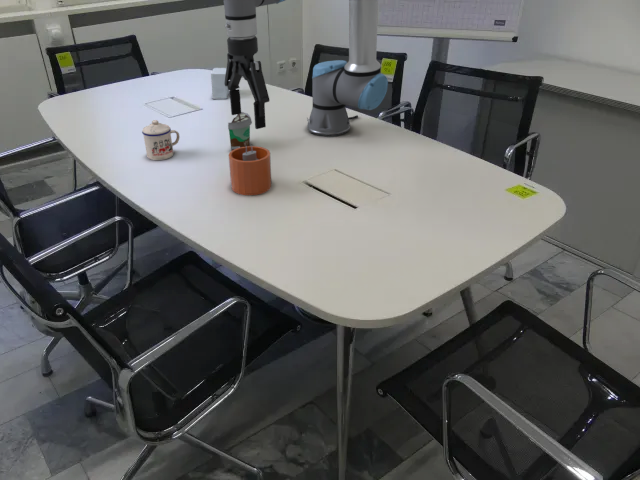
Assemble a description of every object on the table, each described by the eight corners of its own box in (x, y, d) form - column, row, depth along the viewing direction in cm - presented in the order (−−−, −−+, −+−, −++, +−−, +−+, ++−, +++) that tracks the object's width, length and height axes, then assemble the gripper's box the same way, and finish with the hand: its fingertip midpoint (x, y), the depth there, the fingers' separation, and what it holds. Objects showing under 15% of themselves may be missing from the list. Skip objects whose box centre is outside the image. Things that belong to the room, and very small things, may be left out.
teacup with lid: (152, 163, 172) (146, 127, 165) (142, 154, 178) (136, 120, 171) (187, 154, 177) (182, 119, 170) (175, 146, 183) (170, 112, 177)
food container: (248, 153, 176) (246, 124, 170) (230, 152, 177) (227, 123, 171) (256, 140, 186) (255, 111, 180) (239, 139, 187) (237, 111, 181)
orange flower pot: (259, 174, 162) (257, 143, 156) (278, 188, 154) (277, 155, 148) (224, 184, 157) (221, 151, 151) (243, 199, 149) (240, 165, 143)
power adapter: (240, 185, 155) (237, 145, 148) (256, 180, 157) (254, 140, 151) (246, 188, 153) (243, 148, 146) (262, 183, 155) (260, 144, 148)
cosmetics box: (227, 99, 227) (225, 73, 221) (212, 99, 227) (210, 73, 221) (229, 92, 235) (227, 67, 230) (215, 92, 236) (212, 67, 230)
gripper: (206, 31, 140) (215, 111, 152) (253, 47, 122) (258, 137, 134) (232, 27, 143) (238, 106, 155) (281, 42, 125) (284, 130, 137)
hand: (248, 120), depth 145 cm, fingers open, 13 cm apart
